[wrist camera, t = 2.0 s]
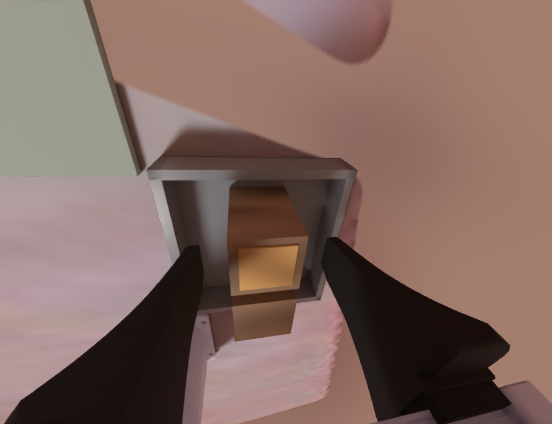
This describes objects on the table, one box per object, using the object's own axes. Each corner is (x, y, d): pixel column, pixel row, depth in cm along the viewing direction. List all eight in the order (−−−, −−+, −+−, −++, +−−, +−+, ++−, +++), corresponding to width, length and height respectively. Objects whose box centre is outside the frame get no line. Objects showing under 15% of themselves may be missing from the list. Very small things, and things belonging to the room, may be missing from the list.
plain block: (276, 270, 20) (290, 333, 15) (234, 274, 19) (234, 341, 14) (279, 238, 18) (297, 299, 13) (232, 241, 17) (232, 306, 12)
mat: (141, 172, 13) (137, 176, 13) (-35, 172, 11) (-47, 176, 11) (79, -35, 8) (70, -42, 8) (-231, -83, 7) (-269, -97, 6)
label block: (280, 229, 17) (299, 289, 12) (232, 231, 17) (231, 297, 11) (284, 186, 15) (309, 237, 10) (229, 186, 14) (226, 242, 9)
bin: (312, 279, 22) (320, 300, 20) (192, 291, 20) (187, 316, 18) (340, 158, 15) (357, 170, 13) (160, 155, 13) (146, 169, 11)
